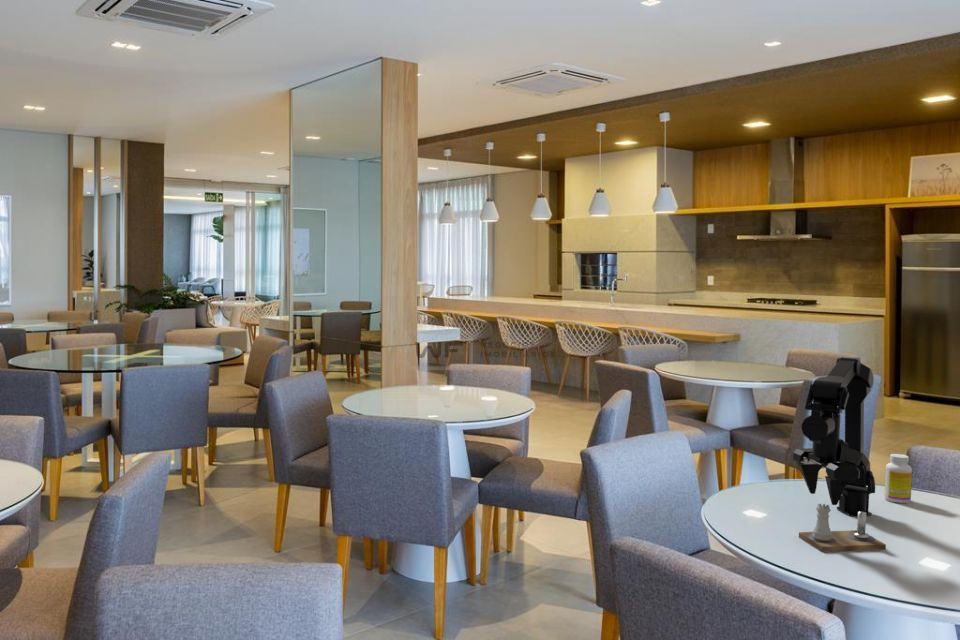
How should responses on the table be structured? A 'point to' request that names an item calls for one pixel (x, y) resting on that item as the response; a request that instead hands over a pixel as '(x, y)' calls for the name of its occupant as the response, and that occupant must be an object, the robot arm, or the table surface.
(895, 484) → the supplement bottle
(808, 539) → the board
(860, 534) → the point post
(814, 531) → the rook chess piece
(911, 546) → the table surface
